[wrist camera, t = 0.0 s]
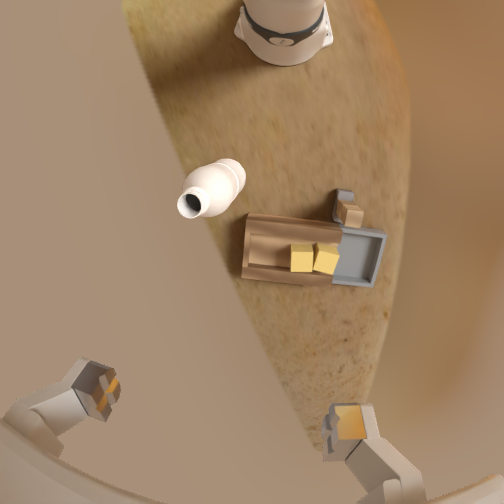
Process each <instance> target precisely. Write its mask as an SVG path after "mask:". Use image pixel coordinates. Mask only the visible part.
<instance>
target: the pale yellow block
mask: <svg viewBox="0 0 504 504" xmlns="http://www.w3.org/2000/svg"><path fill="white" fill-rule="evenodd" d="M313 253H314V252H313V248H312V244H291V256H290V267H291V272H312V267H313Z"/></svg>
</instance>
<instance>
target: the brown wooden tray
mask: <svg viewBox="0 0 504 504" xmlns="http://www.w3.org/2000/svg"><path fill="white" fill-rule="evenodd" d="M342 235H343V230H342V229H341V227H340V226H339V224H338V223H331V222H324V221H316V220H309V219H301V218H293V217H284V216H276V215H267V214H258V213H249V214H248V216H247V219H246V227H245V240H244V252H243V265H242V278H247V279H255V280H263V281H272V282H281V283H290V284H299V285H308V286H317V287H327V288H331V285H332V281H333V275H332V274H328V273H324V272H320V271H316V270H313V269H312V272H291V267H290V256H291V244H312V248H313V252H314V250H315V247H316V244H317V243H320V244H324V245H328V246H332V247H335V248H336V249H337V246H338V244H341V240H342Z"/></svg>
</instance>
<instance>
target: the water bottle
mask: <svg viewBox="0 0 504 504" xmlns="http://www.w3.org/2000/svg"><path fill="white" fill-rule="evenodd" d="M245 180H246V175H245V171H244V169H243V167H242V166H241V165H240V164H239V163H238V162H237V161H235V160H232V159H221V160H218V161H216V162H214V163H212V164H208V165H206V166H202V167H199V168H197V169H195V170H193V171H192V172H191V173H190V174H189V175H188V176H187V178H186V179H185V182H184V184H183V188H182V195H181V196H180V198H179V199H178V202H177V208H178V210H179V212H180V214H181V215H182V216H184V217H186V218H194V217H197V216H202V217H213V216H216V215H219V214H221V213H222V212H224V211H225V210H226V209H227V208H228V207H229V205H230V204H231V202H232V201H233V200H234V199H235V197H236V196H237V194H238V193H239V192H240V191H241V190H242V188H243V187H244V184H245Z"/></svg>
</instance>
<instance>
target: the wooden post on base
mask: <svg viewBox="0 0 504 504" xmlns="http://www.w3.org/2000/svg"><path fill="white" fill-rule="evenodd" d="M353 197H354V193H353V192H352V191H350V190H343V189H336V195H335V201H334V208H333V214H332V219H333V220H334V221H336V222H342V223H343V224H344V226H348V227H355V228H361V223H362V218H363V213H364V212H363V211H362V210H361V209H360V208H359V207H358V206H357V205H356V204H355V203H354V202H353Z"/></svg>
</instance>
